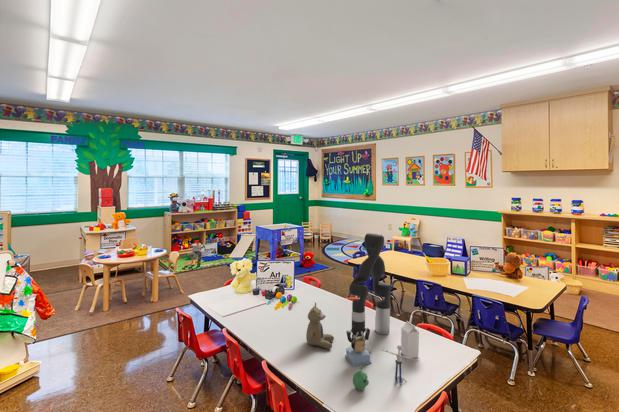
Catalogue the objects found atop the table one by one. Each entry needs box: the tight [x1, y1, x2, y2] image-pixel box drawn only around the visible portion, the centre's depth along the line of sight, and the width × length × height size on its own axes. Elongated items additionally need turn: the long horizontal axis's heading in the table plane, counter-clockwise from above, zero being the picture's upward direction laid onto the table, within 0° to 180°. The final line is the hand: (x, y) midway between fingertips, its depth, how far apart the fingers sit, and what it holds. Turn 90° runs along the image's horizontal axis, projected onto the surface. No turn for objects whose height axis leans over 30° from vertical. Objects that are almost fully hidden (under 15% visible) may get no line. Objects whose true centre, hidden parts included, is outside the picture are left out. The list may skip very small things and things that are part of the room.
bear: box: [305, 301, 335, 350], centre depth 195 cm, size 21×16×25 cm
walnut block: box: [354, 337, 366, 352], centre depth 178 cm, size 6×6×6 cm
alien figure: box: [380, 344, 418, 385], centre depth 158 cm, size 20×5×19 cm, turn 55°
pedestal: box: [344, 347, 373, 368], centre depth 178 cm, size 11×11×5 cm
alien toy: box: [352, 365, 370, 391], centre depth 152 cm, size 7×8×10 cm
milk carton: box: [400, 320, 420, 359], centre depth 183 cm, size 7×7×19 cm
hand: (358, 347), depth 178 cm, fingers closed on walnut block, 5 cm apart
